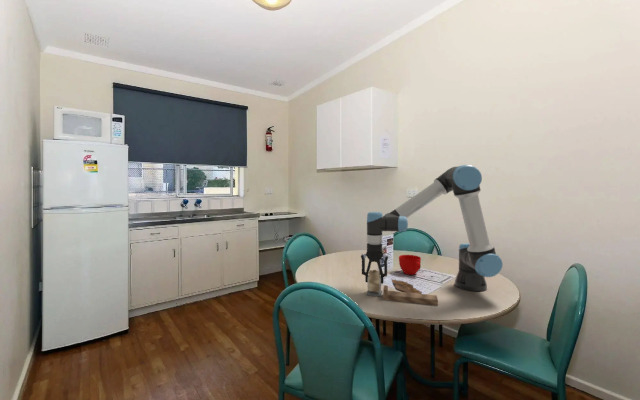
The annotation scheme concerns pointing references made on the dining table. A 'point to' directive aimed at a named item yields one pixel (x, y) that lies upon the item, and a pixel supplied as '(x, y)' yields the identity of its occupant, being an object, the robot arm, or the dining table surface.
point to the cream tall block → (374, 280)
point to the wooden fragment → (405, 287)
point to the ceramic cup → (409, 264)
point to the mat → (374, 293)
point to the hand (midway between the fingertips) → (374, 289)
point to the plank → (409, 297)
